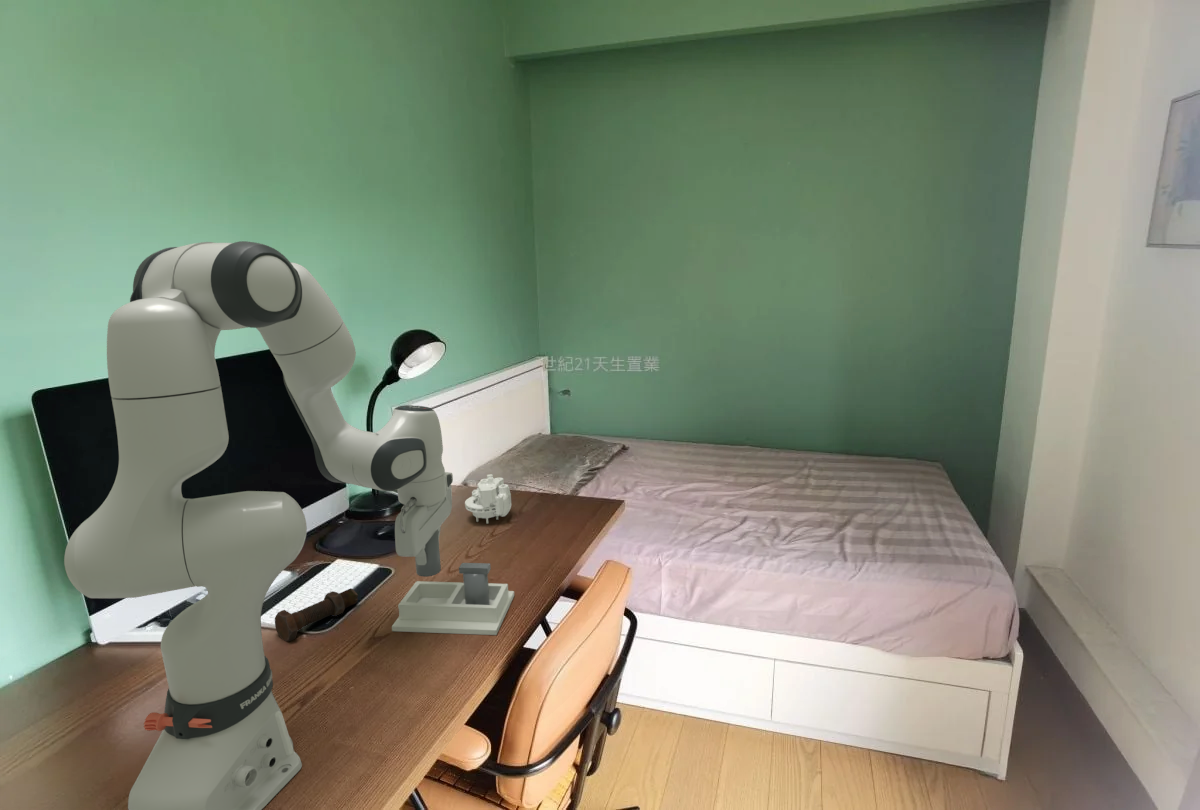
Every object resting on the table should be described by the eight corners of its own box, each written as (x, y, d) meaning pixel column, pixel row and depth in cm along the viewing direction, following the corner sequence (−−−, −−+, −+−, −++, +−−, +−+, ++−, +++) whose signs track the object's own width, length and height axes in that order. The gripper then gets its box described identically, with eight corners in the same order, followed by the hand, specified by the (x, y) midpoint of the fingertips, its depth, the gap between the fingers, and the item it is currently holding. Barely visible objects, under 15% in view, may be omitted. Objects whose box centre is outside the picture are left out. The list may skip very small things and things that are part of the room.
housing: (496, 635, 117) (492, 584, 114) (392, 631, 119) (386, 581, 116) (514, 595, 130) (511, 549, 128) (420, 592, 132) (415, 547, 130)
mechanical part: (474, 510, 175) (471, 469, 172) (516, 511, 173) (514, 470, 171) (460, 527, 164) (456, 484, 161) (504, 529, 162) (502, 485, 160)
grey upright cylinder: (436, 577, 121) (432, 538, 119) (412, 576, 121) (409, 537, 119) (444, 565, 125) (441, 528, 123) (421, 564, 126) (418, 527, 124)
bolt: (358, 613, 129) (285, 647, 117) (344, 595, 131) (272, 627, 119) (364, 594, 126) (291, 628, 114) (350, 576, 128) (277, 608, 116)
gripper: (417, 511, 109) (424, 584, 112) (455, 470, 129) (460, 533, 132) (382, 510, 109) (390, 582, 113) (425, 470, 129) (431, 532, 133)
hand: (428, 555), depth 122 cm, fingers closed on grey upright cylinder, 5 cm apart
